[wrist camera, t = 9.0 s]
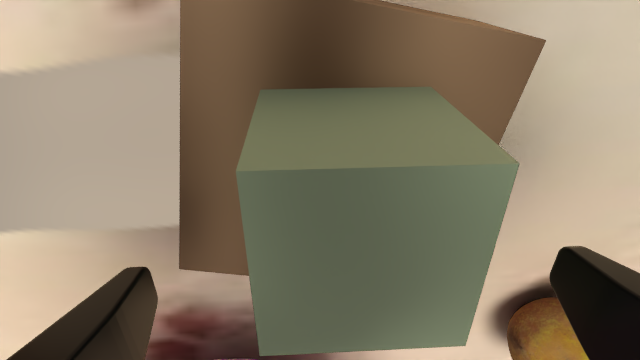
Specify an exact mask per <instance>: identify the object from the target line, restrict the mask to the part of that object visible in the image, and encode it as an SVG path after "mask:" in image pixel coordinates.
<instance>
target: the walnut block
mask: <svg viewBox="0 0 640 360" xmlns="http://www.w3.org/2000/svg"><path fill="white" fill-rule="evenodd" d="M545 42H546V40H543V39H540V38H536V37H533V36H529V35H525V34H522V33H518V32H515V31H511V30H507V29H504V28H500V27H497V26H493V25H490V24H486V23H482V22H479V21H475V20H470V19H465V18H461V17H456V16H451V15H446V14H441V13H437V12H432V11H427V10H422V9H418V8H413V7H408V6H403V5H398V4H394V3H389V2H384V1H379V0H180V246H179V269H184V270H194V271H205V272H215V273H226V274H236V275H247V276H249V270H248V262H247V255H246V247H245V239H244V231H243V224H242V216H241V208H240V201H239V193H238V185H237V178H236V169H237V165H238V162H239V159H240V155H241V152H242V149H243V146H244V142H245V139H246V136H247V132H248V129H249V126H250V122H251V119H252V116H253V113H254V109H255V106H256V103H257V99H258V96H259V93H260V90H265V89H321V88H380V87H432V88H433V89H434V90H435V91H436V92H438V93H439V94H440V95H441V96H442V97H443V98H445V99H446V100H447V101H448V102H449V103H450V104H451V105H453V106H454V107H455V108H456V109H457V110H458V111H459V112H461V113H462V114H463V115H464V116H465V117H466V118H468V119H469V120H470V121H471V122H472V123H473V124H474V125H476V126H477V127H478V128H479V129H480V130H481V131H483V132H484V133H485V134H486V135H487V136H488V137H489V138H491V139H492V140H493V141H494V142H495V143H496V144H497V145H499V143H500V140H501V138H502V136H503V134H504V132H505V129H506V127H507V125H508V123H509V121H510V118H511V116H512V114H513V112H514V110H515V108H516V105H517V103H518V101H519V99H520V97H521V94H522V92H523V90H524V88H525V86H526V83H527V81H528V79H529V77H530V75H531V73H532V70H533V68H534V66H535V64H536V62H537V59H538V57H539V55H540V53H541V51H542V48H543V46H544V44H545Z"/></svg>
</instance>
